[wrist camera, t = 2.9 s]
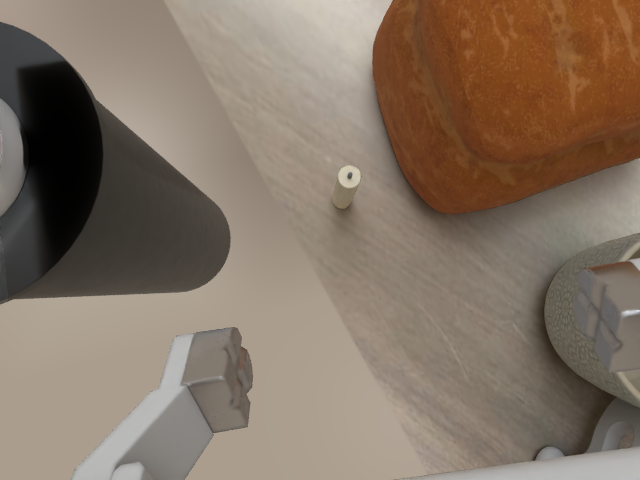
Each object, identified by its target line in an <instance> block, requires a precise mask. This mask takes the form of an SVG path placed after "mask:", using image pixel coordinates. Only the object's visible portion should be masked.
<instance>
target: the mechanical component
mask: <svg viewBox="0 0 640 480" xmlns="http://www.w3.org/2000/svg"><path fill="white" fill-rule="evenodd" d="M631 432H634V433H635V434H634V440H633V443H632V446H631V447H638V446H640V408H639V407H637V406H634V405H632V404H630V403H628V402H626V401H624V400H622V399H620V398H618V397H616V398H615V399H614V400H613V401H612V402H611V403H610V405H609V406H608V407H607V409H606V410H605V411H604V413H603V415H602V416H601V418H600V420H599V422H598V424H597V426H596V429H595V431H594V434H593V437H592V441H591V444H590V446H589V448H588V450H587V451H586V452H585V453H584V454H587V453H594V452H601V451H609V450H616V449H618V447H619V444H620V441H621V440H622V438H623V437H624V436H625V435H627V434H628V433H631Z"/></svg>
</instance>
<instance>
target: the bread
mask: <svg viewBox="0 0 640 480" xmlns="http://www.w3.org/2000/svg"><path fill="white" fill-rule="evenodd" d="M372 64H373V77H374V81H375V85H376V89H377V95H378V101H379V106H380V109H381V112H382V116H383V119H384V122H385V125H386V128H387V131H388V134H389V137H390V140H391V143H392V147H393V150H394V153H395V156H396V158H397V160H398V162H399V164H400V167H401V169H402V171H403V173H404V175H405V177H406V178H407V180H408V181H409V183H410V184H411V185H412V187H413V188H414V189H415V190H416V192H417V193H418V194H419V195H420V196H421V198H422V199H423V200H424V201H425V202H426V203H427V204H428V205H430V206H431V207H432V208H434V209H435V210H436V211H438V212H441V213H447V214H459V213H466V212H473V211H479V210H485V209H490V208H494V207H498V206H502V205H505V204H509V203H512V202H516V201H519V200H521V199H524V198H526V197H529V196H532V195H534V194H537V193H540V192H542V191H545V190H547V189H550V188H553V187H556V186H559V185H561V184H564V183H567V182H570V181H573V180H576V179H578V178H581V177H584V176H587V175H590V174H592V173H595V172H597V171H600V170H603V169H605V168H609V167H612V166H616V165H620V164H624V163H627V162H629V161H632V160H635V159H638V158H640V0H393V1H392V3H391V5H390V7H389V9H388V10H387V12H386V14H385V16H384V19H383V21H382V23H381V25H380V27H379V29H378V32H377V34H376V38H375V41H374V45H373V62H372Z"/></svg>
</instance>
